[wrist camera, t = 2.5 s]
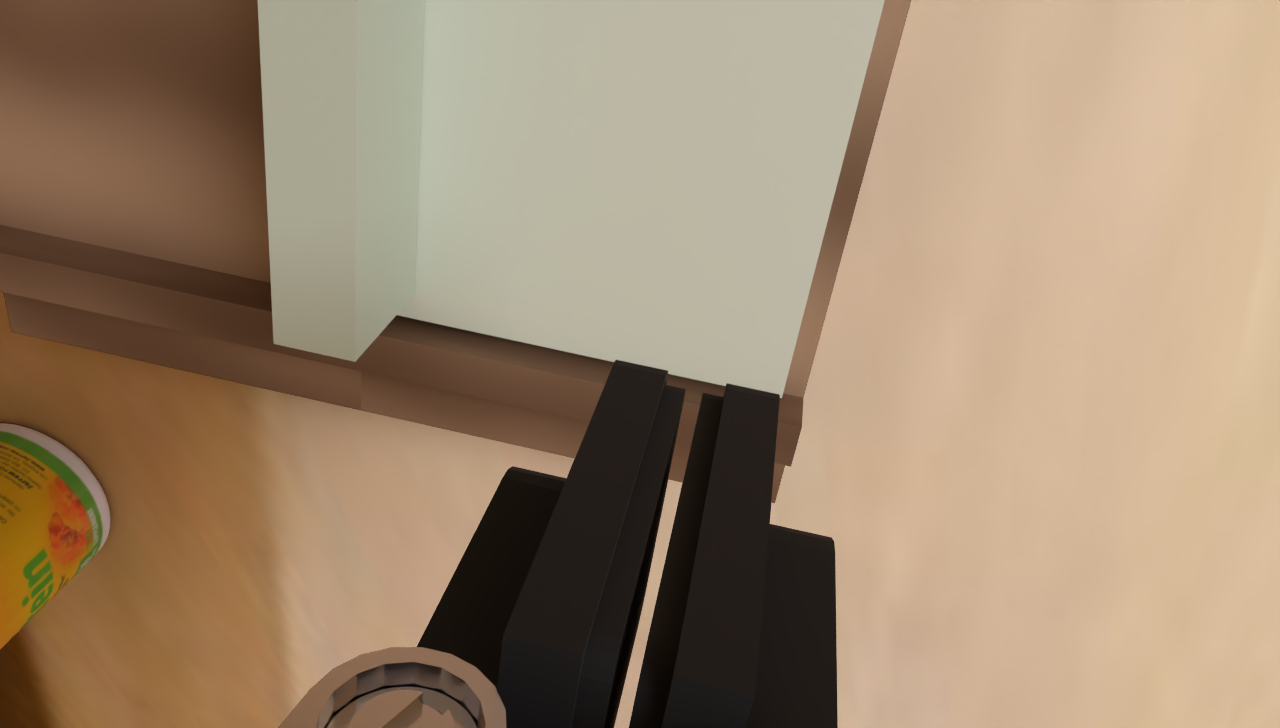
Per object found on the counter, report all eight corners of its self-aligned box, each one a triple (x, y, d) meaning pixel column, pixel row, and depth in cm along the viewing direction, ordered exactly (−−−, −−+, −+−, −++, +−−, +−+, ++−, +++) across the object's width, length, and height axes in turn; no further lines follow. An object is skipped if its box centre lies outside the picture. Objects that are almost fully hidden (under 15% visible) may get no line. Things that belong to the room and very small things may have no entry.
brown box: (-21, -470, 19) (-224, -538, 15) (977, -312, 17) (1014, -346, 14) (90, 282, 27) (-26, 354, 23) (781, 433, 25) (771, 535, 22)
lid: (335, -207, 17) (221, -213, 14) (908, -107, 16) (926, -89, 13) (339, 286, 22) (255, 367, 19) (783, 381, 21) (774, 482, 18)
